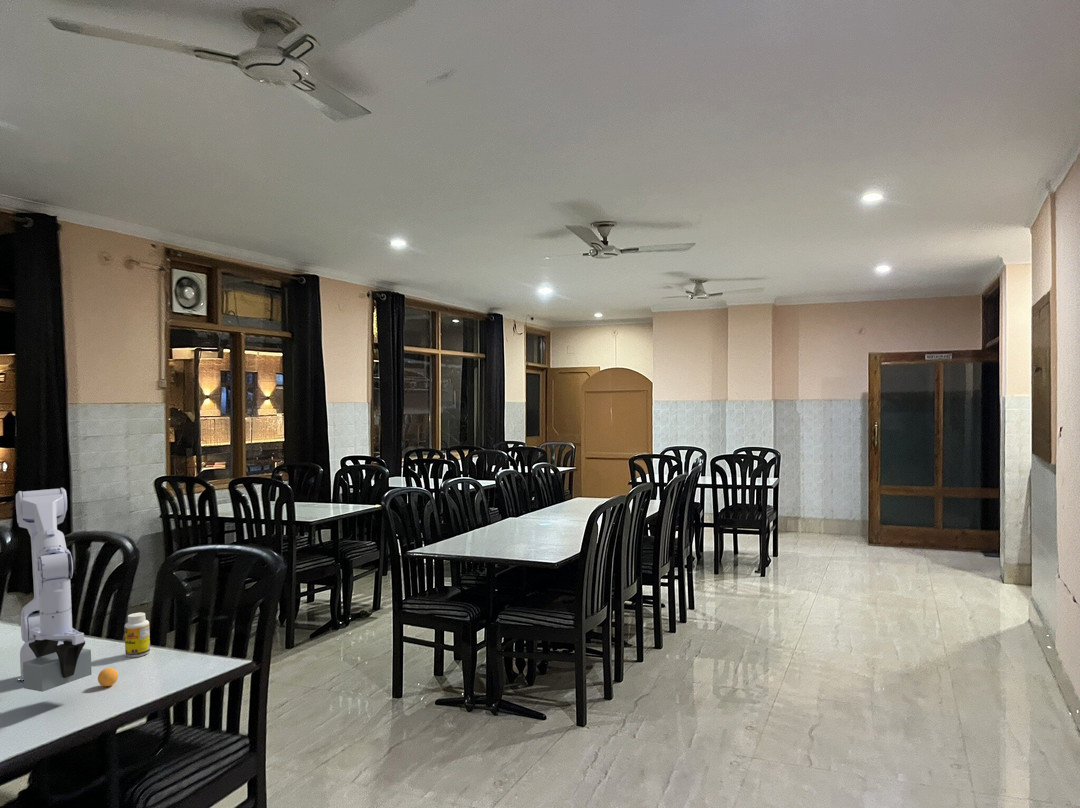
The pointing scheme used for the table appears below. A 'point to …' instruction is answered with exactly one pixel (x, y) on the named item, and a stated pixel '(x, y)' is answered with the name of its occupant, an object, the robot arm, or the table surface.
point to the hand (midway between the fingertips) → (58, 674)
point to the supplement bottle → (137, 635)
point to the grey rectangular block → (53, 671)
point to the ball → (107, 677)
